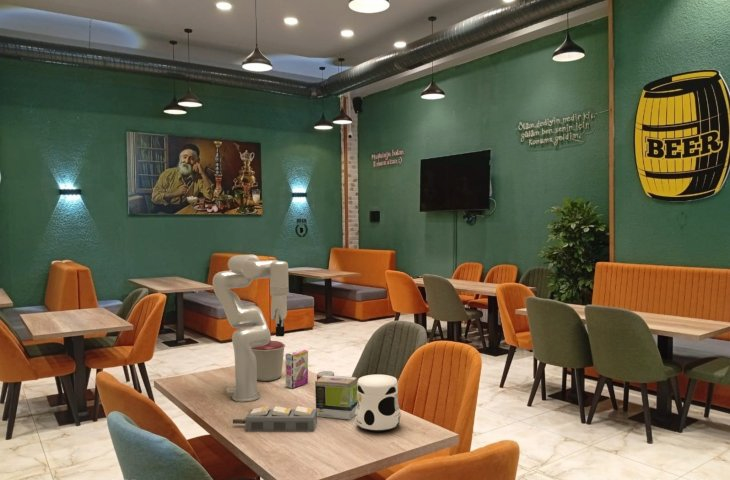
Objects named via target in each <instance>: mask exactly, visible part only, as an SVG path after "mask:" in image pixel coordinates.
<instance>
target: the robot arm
mask: <svg viewBox="0 0 730 480" xmlns="http://www.w3.org/2000/svg"><path fill="white" fill-rule="evenodd" d="M227 268H228V270H223V271H219V272H217V273H215V274H214V276H213V278H212V288H213V291H214V294H215V296H216V297H217V299H218V301H219V302H220V304H221V305H222V308H223V310H224V313H225V316H226V319H227V321H228V324H229V326H231V328H233V329H235V330H234V331H233V333H232V336H231V342H232V346H233V353H234V354H233V355H234V375H235V376H234V378H235V379H234V381H235V387H232V388H231V387H227V388H226V393H227V394H229V395H231V394H232V396H231V398H232V400H233V401H235V402H252V401H257V400H258V399H260V398H261V395H262V394H261V392H260V391H258V380H257V362H256V356H255V354H254V353H253V352H252V350H251V348H254V347H259V346H264V345H267V344H268V343H269V342H270V339H271V338H272V337H271V336H272V335H271V330H270V329H269V325H268V323H267V321H266V318H265V316H264V313H263V312H262V309H261V308H260V307H259V306H257V305H253V304H252V305H243V303H242V299H241V298H240V297H239V295H238V294H237V293H235V291H232V290H231V289H241V288H247V287H249V286H250V285H251V283H252V282H253V280H262V279H269V296H271V301H270V304H271V305H270V319H271V321H274V320H275V337H276V338H278V337H284V336H285V319H286V318H287V316H288V315H287V314H288V310H287V309H288V307H287V306H288V301H287V299H288V298H287V296H289V294H290V293H289V292H290V291H289V290H290V289H289V287H290V286H289V264H288V262H287V261H286V260H285V261H284V260H277V259H266V260H262V259H261V260H260V258H259V257H258V256H257V255H256V254H253V253H252V254H238V255H233V256H231V257H230V258H229V259H228V262H227ZM271 340H272V339H271Z"/></svg>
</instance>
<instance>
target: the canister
mask: <svg viewBox="0 0 730 480" xmlns="http://www.w3.org/2000/svg"><path fill="white" fill-rule="evenodd" d="M285 347H286V343H283V342H281V341H278V340H272V339H270V342H269V343H268V344H267V345H264V346H259V347H254V348H251V350H252V352H253V353H254V354H255V356H256V362H257V381H259V382H260V381H262V382H270V381H276V380H278V379H279V378H280V377H281V376H282V372H283V365H284V364H283V362H284V354H285Z"/></svg>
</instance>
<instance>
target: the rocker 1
mask: <svg viewBox="0 0 730 480" xmlns="http://www.w3.org/2000/svg"><path fill="white" fill-rule="evenodd" d="M269 407H270V406H269V405H267V406H261V407H258V408H252V409H253V410H252V412H251V413H250V415H251V416H261V415H266V414H267V413H268V411H269V409H270V408H269Z"/></svg>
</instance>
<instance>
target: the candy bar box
mask: <svg viewBox="0 0 730 480" xmlns="http://www.w3.org/2000/svg"><path fill="white" fill-rule="evenodd" d="M307 384H309V351H308V350H306V349H297V350H295V351H289V352H287V353H286V352H285V388H288V389H290V390H293V389H296V388H299V387H302V386H305V385H307Z"/></svg>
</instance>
